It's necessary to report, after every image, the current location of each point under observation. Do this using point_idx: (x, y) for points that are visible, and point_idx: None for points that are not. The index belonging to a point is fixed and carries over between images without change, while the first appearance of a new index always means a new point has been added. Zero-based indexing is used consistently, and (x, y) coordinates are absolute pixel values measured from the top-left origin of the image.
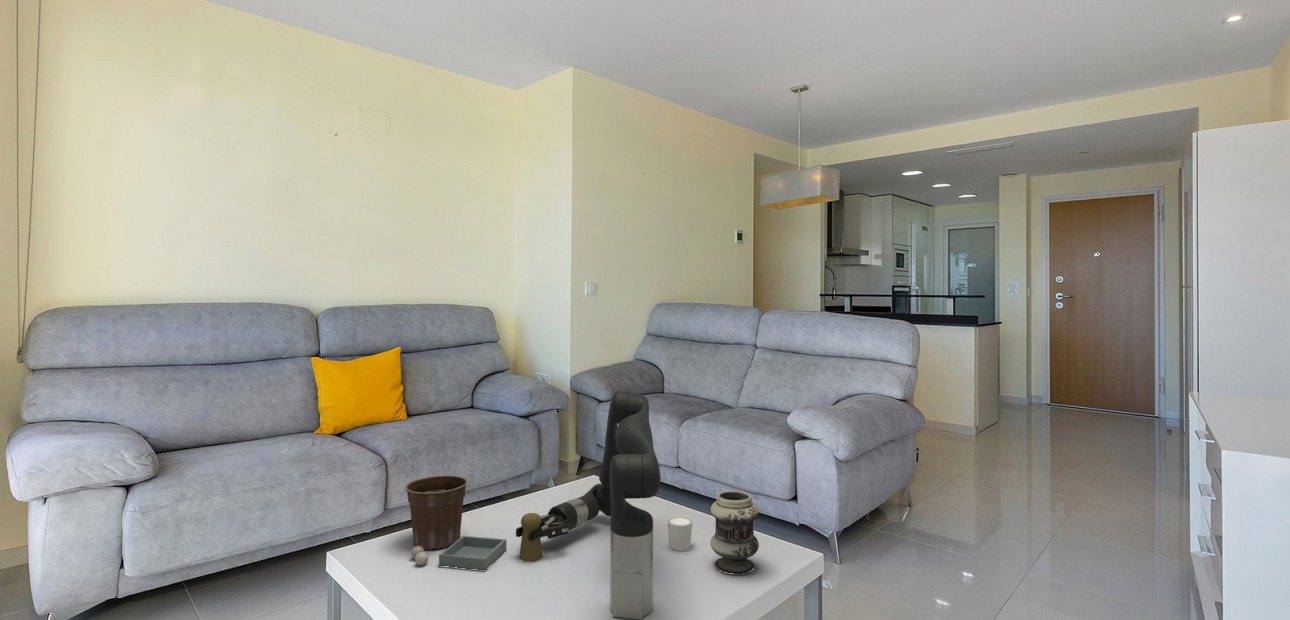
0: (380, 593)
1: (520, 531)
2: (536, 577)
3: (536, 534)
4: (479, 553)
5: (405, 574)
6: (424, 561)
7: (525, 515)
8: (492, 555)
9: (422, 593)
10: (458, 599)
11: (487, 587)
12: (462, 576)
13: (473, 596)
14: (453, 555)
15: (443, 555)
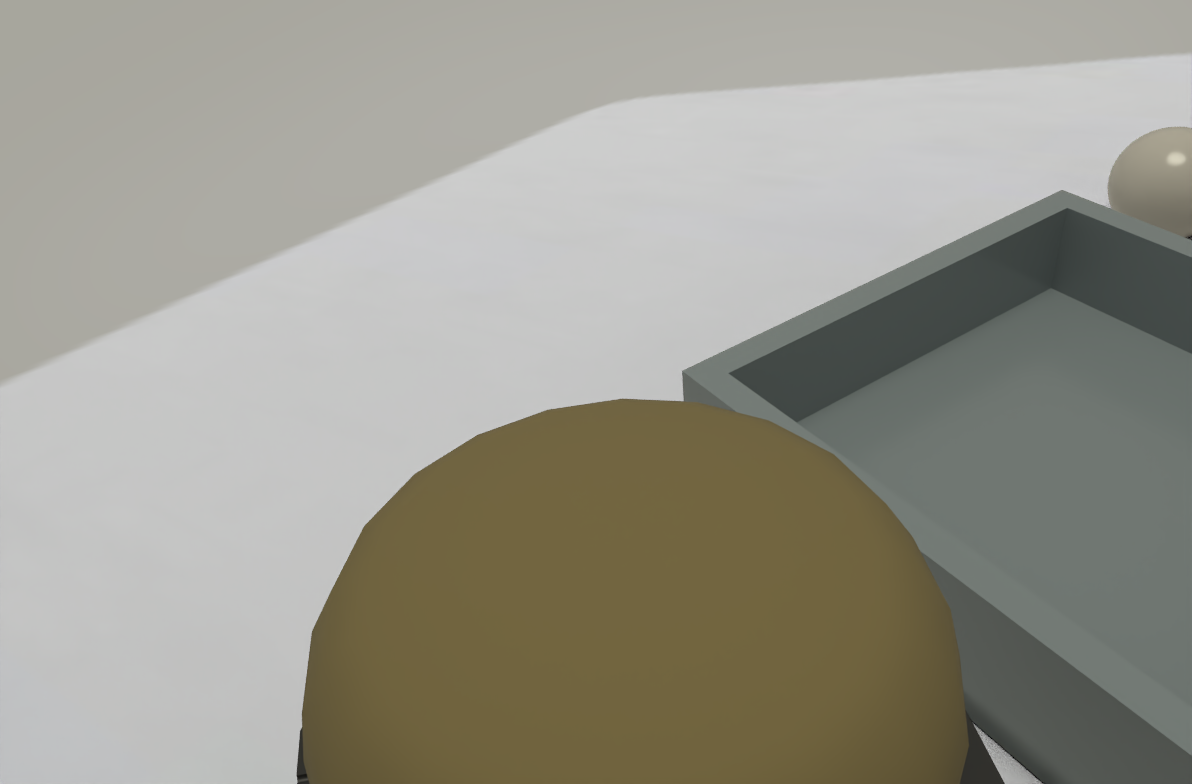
0: (829, 90)
1: None
2: (98, 768)
3: (304, 772)
4: (1155, 545)
5: (1025, 166)
6: (1109, 194)
7: (713, 436)
8: None
9: (670, 177)
10: (423, 257)
11: (397, 396)
12: (734, 344)
13: (372, 311)
14: (978, 244)
15: (1029, 206)
